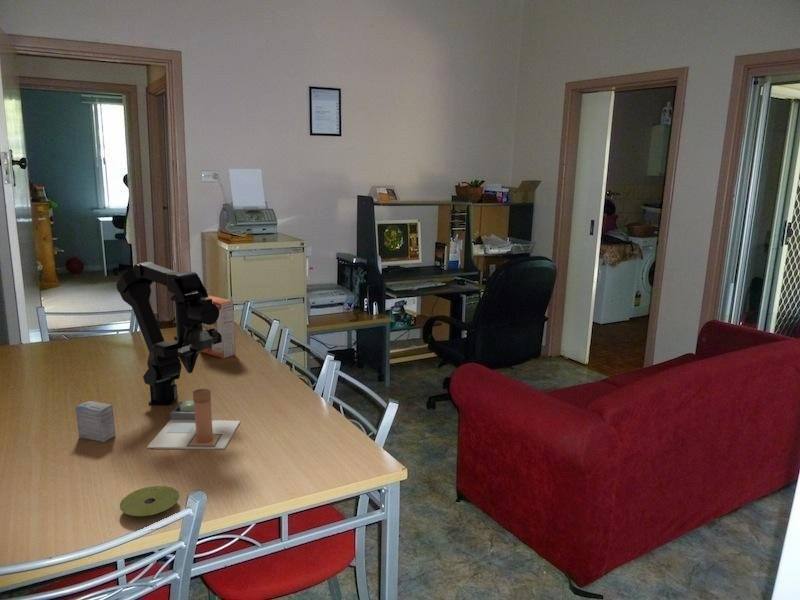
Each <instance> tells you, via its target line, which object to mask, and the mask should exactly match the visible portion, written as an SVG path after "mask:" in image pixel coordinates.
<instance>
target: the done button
mask: <svg viewBox="0 0 800 600" xmlns="http://www.w3.org/2000/svg"><path fill="white" fill-rule="evenodd" d="M182 402H183V403H181V404H180V412H195V411H194V401H193V400H186V401H182Z"/></svg>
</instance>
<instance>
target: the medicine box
mask: <svg viewBox="0 0 800 600" xmlns="http://www.w3.org/2000/svg"><path fill="white" fill-rule="evenodd" d="M75 413H76V414H75V415H76V421H77V431H78V437H79V438H81V439H85V440H91V441H95V442H99V443H105V442H107V441H108V440H111V439H112V438H113V437H116V435H117V434H116V433H117V432H116V425H115V416H114V407H113V405H112V404H109V403H104V402H98V401H91V400H88V401H85V402H83V403H81V404H78V405H76V407H75Z"/></svg>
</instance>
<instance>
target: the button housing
mask: <svg viewBox="0 0 800 600" xmlns="http://www.w3.org/2000/svg"><path fill="white" fill-rule="evenodd" d="M183 402H184V401H179V402H178V403H177V404H176V406H174V408H173V409H172V410H171V411H170V412H169V418H170V419H169V421H170V420H195V412H180V404H181V403H183Z"/></svg>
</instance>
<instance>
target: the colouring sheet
mask: <svg viewBox="0 0 800 600" xmlns="http://www.w3.org/2000/svg"><path fill="white" fill-rule="evenodd" d="M240 423H241V420H219V419H218V420H215V419H214V420H213V419H212V429H213V440H212V441H211V442H209V443H204V444H201V443H198V442H197V441H196V426H195V420H170V419H169V421H168V422H167V423H166V424H165V425H164V427H163V428H162V429H161V430H160V431H159V432H158V434H157V435H156V436H155V437H153V439H152V441H151V442H149V444H148V445H147V446H146V449H151V448H153V449H159V450H161V449H162V450H163V449H164V450H171V449H172V450H225V449H226V447H227V446H228V444H229V443H230V441H231V439H232V437H233V435H234V434H235V432H236V430H237V429H238V427H239V425H240Z"/></svg>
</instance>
